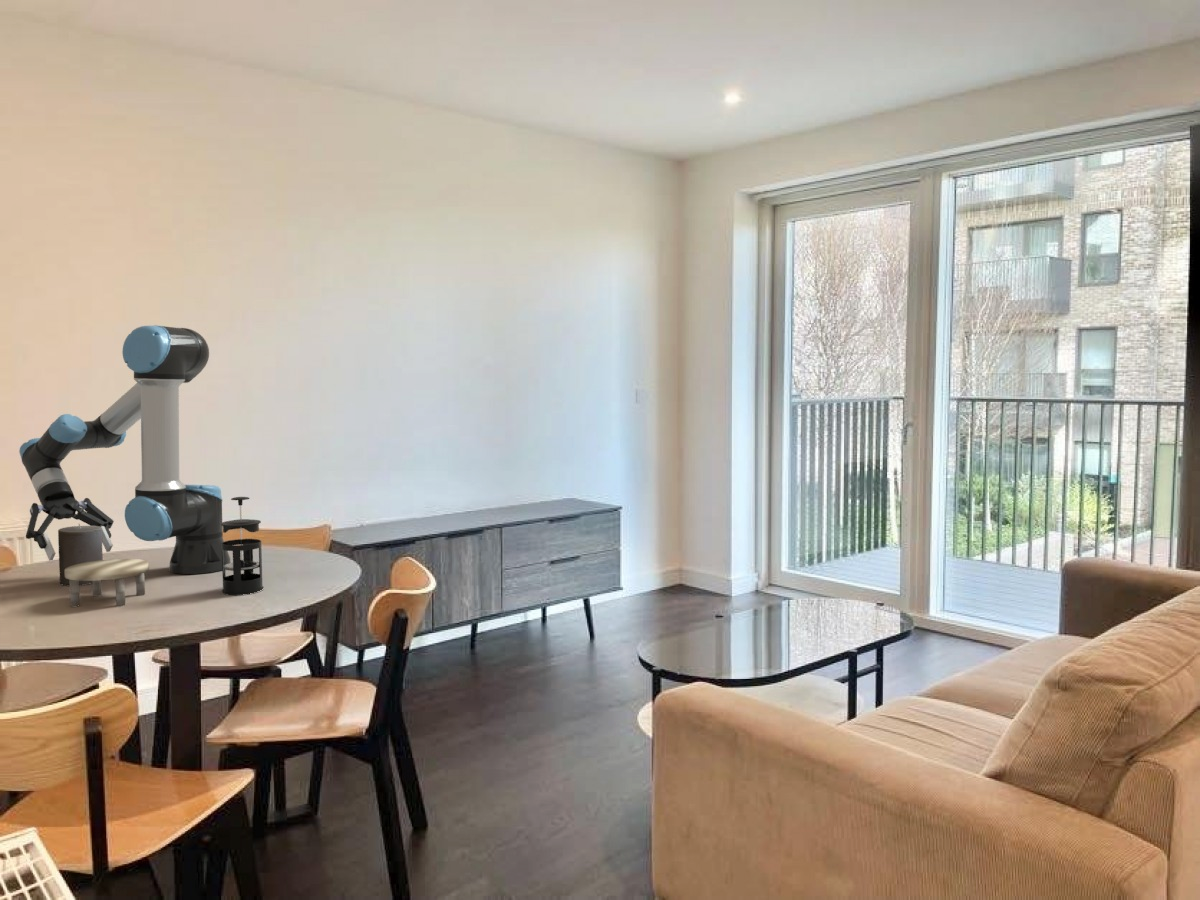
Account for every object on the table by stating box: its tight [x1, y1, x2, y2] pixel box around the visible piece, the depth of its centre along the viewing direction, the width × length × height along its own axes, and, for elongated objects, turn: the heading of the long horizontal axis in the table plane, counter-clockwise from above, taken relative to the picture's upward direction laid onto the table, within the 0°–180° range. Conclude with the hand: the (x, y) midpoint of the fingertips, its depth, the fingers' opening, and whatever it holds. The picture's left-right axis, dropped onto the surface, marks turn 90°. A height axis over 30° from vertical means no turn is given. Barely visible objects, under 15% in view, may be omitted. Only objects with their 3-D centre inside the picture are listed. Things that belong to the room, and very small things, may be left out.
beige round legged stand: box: [65, 558, 150, 607], centre depth 202 cm, size 17×17×8 cm
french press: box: [221, 496, 264, 596], centre depth 212 cm, size 12×9×23 cm
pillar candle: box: [57, 523, 104, 586], centre depth 221 cm, size 10×10×15 cm
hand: (81, 552), depth 220 cm, fingers open, 13 cm apart
